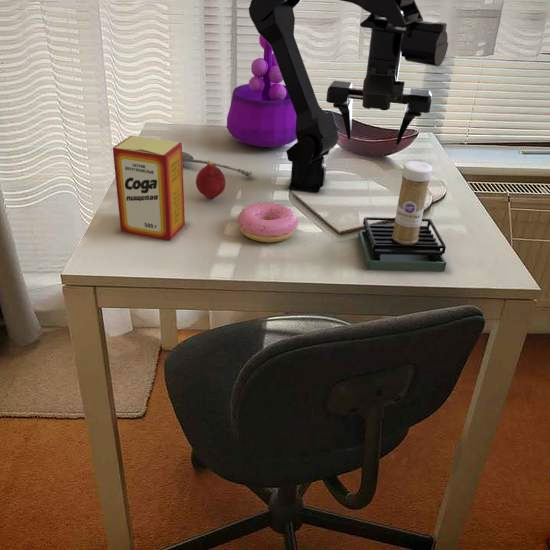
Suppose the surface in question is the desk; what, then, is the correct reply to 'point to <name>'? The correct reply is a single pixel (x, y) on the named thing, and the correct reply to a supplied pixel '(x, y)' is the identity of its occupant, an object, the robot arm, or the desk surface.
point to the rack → (384, 244)
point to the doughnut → (267, 222)
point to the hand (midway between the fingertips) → (373, 141)
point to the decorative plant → (262, 106)
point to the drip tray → (398, 259)
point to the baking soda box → (150, 186)
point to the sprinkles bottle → (411, 202)
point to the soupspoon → (189, 158)
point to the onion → (210, 181)
